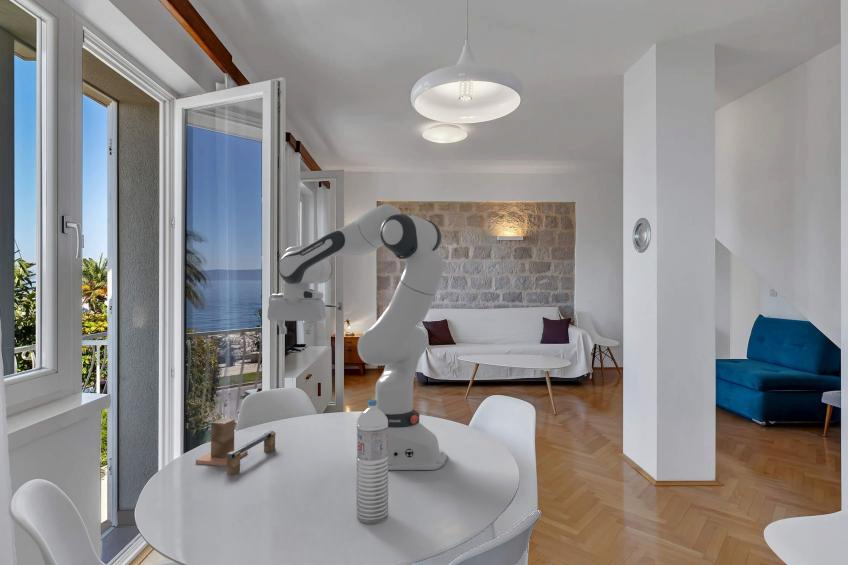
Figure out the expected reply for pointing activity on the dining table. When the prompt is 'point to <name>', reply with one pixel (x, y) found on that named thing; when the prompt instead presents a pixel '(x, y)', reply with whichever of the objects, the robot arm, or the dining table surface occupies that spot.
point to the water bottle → (372, 465)
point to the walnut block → (222, 437)
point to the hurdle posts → (234, 463)
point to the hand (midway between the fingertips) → (296, 334)
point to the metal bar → (250, 444)
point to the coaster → (215, 460)
